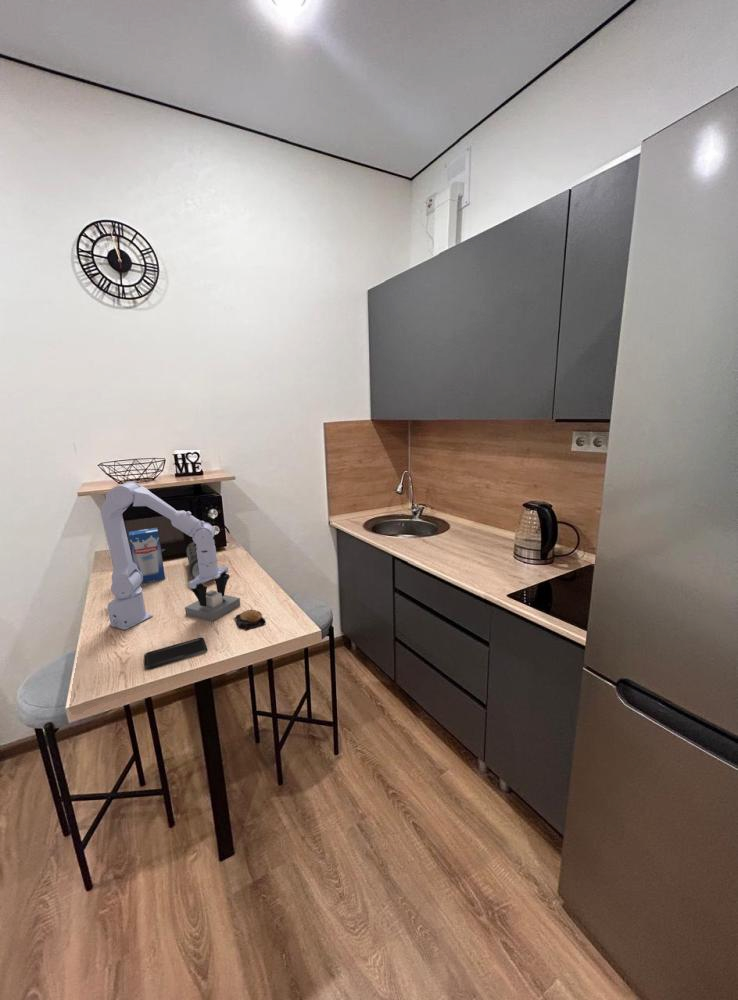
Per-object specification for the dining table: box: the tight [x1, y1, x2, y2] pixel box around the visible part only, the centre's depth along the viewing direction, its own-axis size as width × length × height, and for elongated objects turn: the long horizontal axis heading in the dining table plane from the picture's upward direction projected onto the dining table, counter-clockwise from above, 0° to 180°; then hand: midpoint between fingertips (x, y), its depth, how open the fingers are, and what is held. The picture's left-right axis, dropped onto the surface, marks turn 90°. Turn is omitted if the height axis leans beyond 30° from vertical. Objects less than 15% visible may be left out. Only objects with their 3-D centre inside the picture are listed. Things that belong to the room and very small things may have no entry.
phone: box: [143, 637, 208, 671], centre depth 108 cm, size 8×1×15 cm
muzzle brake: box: [185, 541, 200, 579], centre depth 166 cm, size 10×28×10 cm, turn 27°
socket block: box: [184, 594, 241, 622], centre depth 133 cm, size 12×12×2 cm
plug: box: [206, 589, 223, 608], centre depth 132 cm, size 4×5×6 cm
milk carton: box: [128, 527, 166, 585], centre depth 159 cm, size 10×6×20 cm, turn 121°
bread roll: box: [233, 609, 267, 632], centre depth 124 cm, size 11×8×4 cm
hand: (212, 600), depth 132 cm, fingers open, 7 cm apart
